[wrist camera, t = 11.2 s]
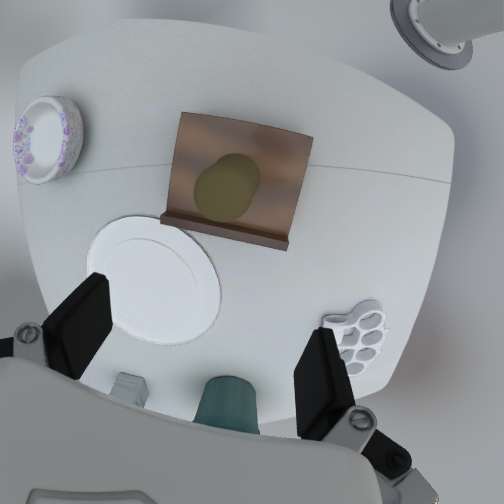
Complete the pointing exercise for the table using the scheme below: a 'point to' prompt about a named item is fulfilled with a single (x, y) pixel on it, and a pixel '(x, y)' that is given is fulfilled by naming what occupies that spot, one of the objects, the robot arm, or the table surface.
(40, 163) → the paper bowls
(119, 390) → the white packaging box
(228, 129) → the brown wooden box
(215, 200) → the olive pawn figure
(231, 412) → the flower pot
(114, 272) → the plate
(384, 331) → the knuckle duster
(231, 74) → the table surface
